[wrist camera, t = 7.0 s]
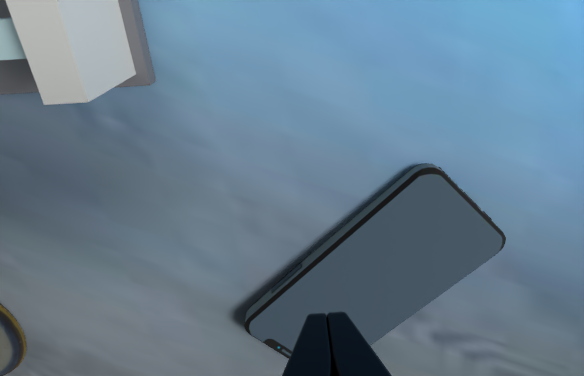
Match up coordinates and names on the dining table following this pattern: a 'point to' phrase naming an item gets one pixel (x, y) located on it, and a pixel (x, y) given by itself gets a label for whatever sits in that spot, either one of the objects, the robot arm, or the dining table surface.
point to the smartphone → (383, 261)
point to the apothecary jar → (10, 342)
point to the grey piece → (72, 48)
